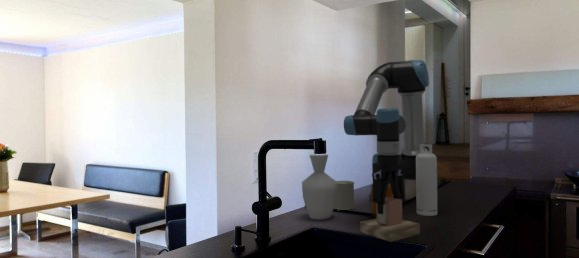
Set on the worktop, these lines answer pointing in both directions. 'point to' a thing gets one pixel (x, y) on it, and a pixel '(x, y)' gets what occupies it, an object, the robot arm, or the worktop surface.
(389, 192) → the canister
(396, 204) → the tower block
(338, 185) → the can
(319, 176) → the vase
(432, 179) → the bottle
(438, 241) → the worktop surface
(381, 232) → the plinth block
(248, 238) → the worktop surface
